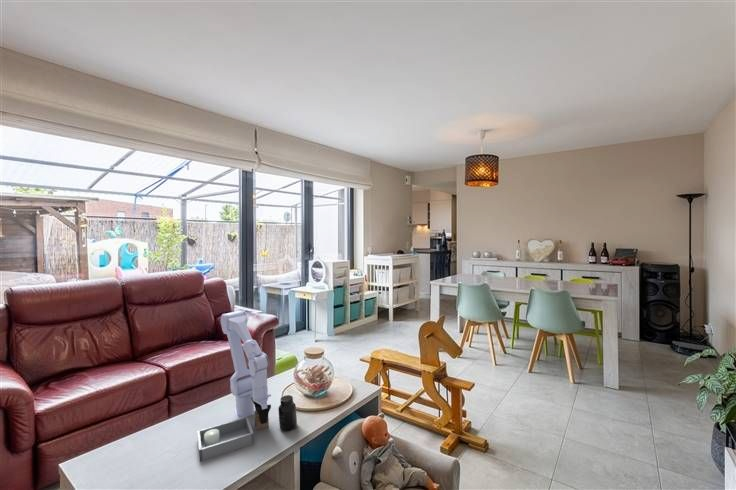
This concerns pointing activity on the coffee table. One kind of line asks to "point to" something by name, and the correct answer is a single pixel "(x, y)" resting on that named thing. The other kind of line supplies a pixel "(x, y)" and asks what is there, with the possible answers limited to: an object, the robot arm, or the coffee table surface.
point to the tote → (226, 438)
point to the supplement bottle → (287, 414)
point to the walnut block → (258, 423)
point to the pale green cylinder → (211, 437)
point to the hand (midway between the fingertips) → (261, 418)
